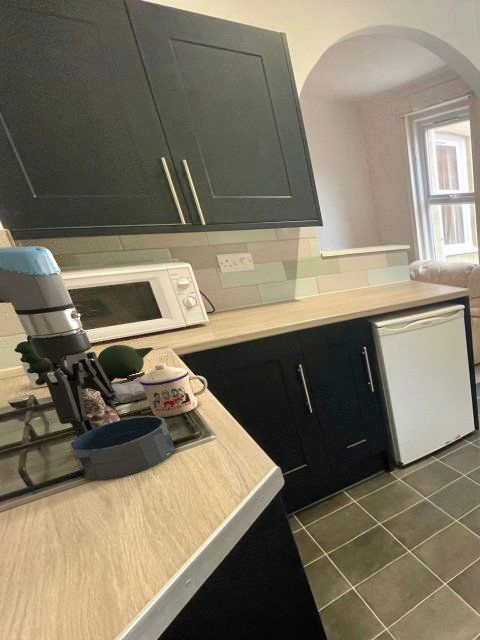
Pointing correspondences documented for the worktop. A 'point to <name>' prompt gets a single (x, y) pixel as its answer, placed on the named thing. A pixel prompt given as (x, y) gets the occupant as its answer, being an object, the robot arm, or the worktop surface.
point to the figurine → (97, 408)
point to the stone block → (129, 391)
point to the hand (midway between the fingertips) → (104, 438)
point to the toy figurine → (112, 359)
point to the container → (33, 376)
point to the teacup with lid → (170, 390)
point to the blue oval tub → (122, 447)
